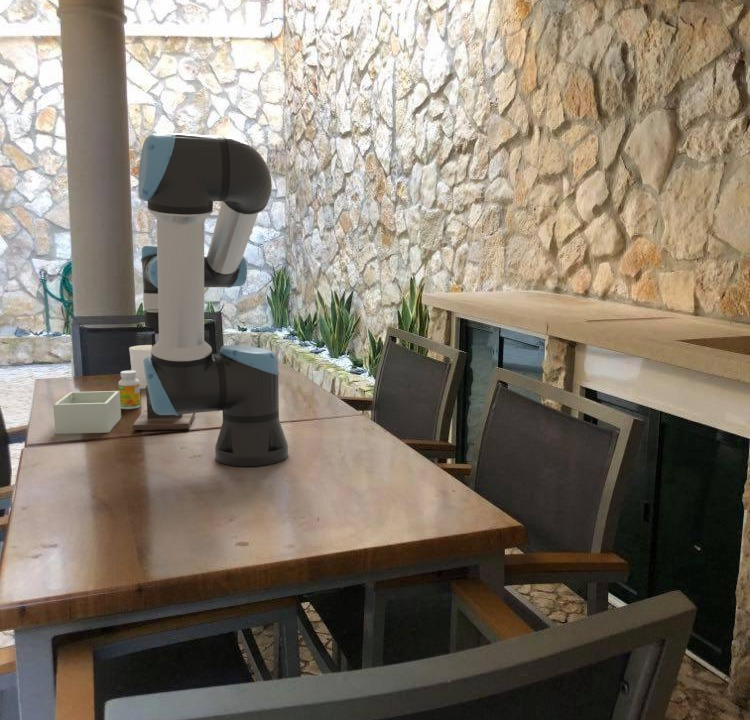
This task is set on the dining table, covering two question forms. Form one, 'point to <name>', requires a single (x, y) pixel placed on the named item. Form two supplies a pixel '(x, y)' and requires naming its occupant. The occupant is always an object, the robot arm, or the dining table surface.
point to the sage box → (87, 412)
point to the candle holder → (139, 362)
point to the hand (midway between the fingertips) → (164, 397)
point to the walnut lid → (161, 419)
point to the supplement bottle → (129, 390)
